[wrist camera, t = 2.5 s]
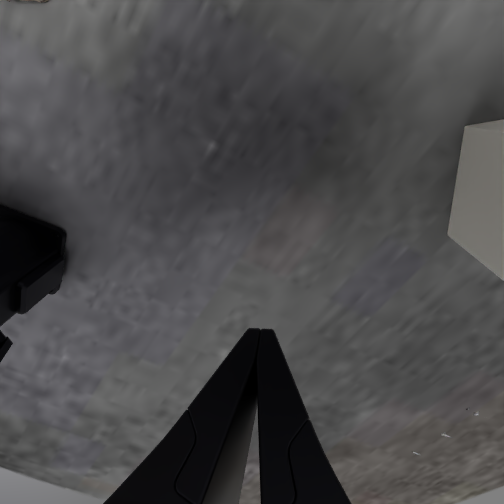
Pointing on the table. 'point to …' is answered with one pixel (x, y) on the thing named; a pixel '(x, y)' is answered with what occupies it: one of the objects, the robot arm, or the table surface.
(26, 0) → the mineral rock
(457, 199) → the tile
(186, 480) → the robot arm
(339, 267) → the table surface
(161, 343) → the table surface
